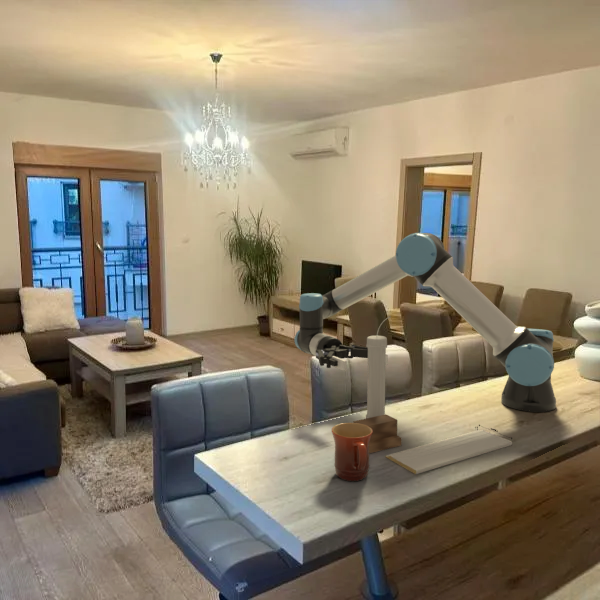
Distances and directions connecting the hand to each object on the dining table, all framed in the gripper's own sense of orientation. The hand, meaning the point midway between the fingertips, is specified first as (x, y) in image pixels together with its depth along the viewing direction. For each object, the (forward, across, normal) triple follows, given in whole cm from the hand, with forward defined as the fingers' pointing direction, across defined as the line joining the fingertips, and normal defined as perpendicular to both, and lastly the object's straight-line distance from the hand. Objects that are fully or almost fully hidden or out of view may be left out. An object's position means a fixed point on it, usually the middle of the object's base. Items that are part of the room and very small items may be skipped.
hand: (366, 362), depth 148 cm
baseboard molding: (+26, -6, -17) cm, 32 cm away
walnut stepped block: (+15, +8, -16) cm, 23 cm away
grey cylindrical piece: (+4, 0, -17) cm, 17 cm away
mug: (+28, +22, -17) cm, 39 cm away
